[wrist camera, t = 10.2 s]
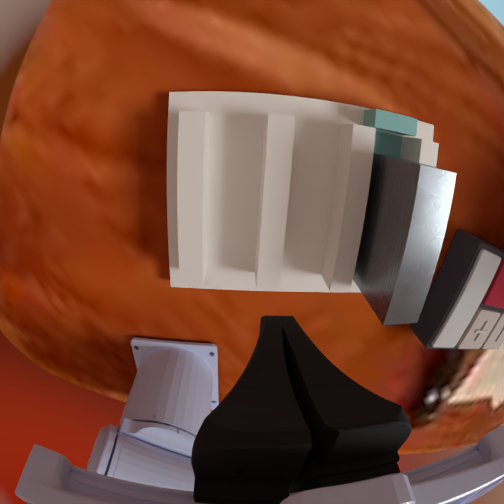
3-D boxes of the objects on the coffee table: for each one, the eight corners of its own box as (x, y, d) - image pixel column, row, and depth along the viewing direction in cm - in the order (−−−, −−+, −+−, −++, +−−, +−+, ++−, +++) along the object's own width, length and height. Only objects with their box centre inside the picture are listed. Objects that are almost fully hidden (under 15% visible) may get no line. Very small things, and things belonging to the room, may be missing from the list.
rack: (397, 286, 24) (415, 307, 21) (173, 280, 23) (163, 304, 20) (426, 124, 19) (453, 126, 15) (172, 93, 18) (159, 87, 14)
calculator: (499, 353, 25) (428, 354, 22) (481, 333, 29) (407, 327, 26) (542, 274, 21) (486, 244, 18) (519, 259, 25) (456, 226, 22)
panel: (375, 271, 22) (417, 322, 16) (347, 271, 22) (383, 325, 15) (396, 156, 19) (456, 173, 12) (365, 151, 18) (420, 164, 12)
